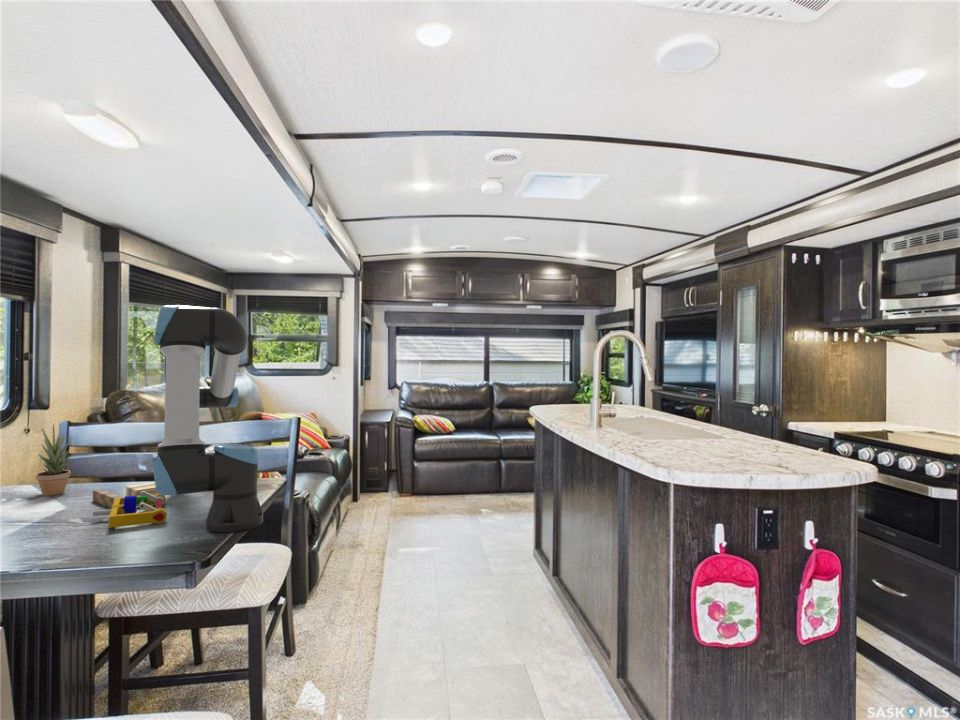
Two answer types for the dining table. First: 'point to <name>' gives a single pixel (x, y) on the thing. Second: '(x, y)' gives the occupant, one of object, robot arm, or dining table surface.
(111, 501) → the board
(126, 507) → the mechanical clamp
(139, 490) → the block
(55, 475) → the potted plant
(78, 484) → the dining table surface
